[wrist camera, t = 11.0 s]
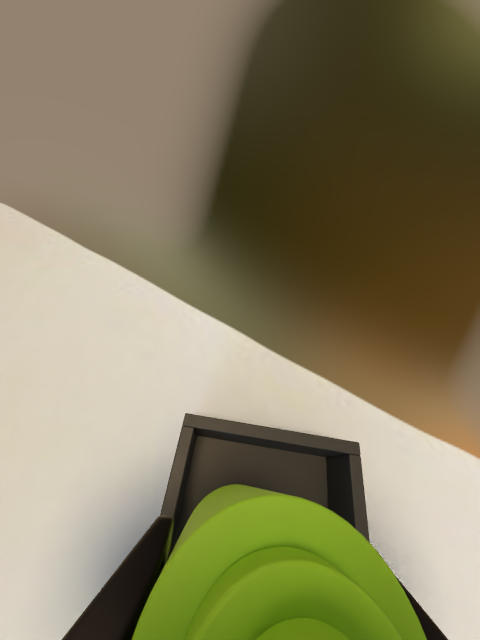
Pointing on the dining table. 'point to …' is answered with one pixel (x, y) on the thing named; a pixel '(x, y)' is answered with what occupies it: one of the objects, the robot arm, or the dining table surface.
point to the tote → (263, 468)
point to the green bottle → (274, 576)
